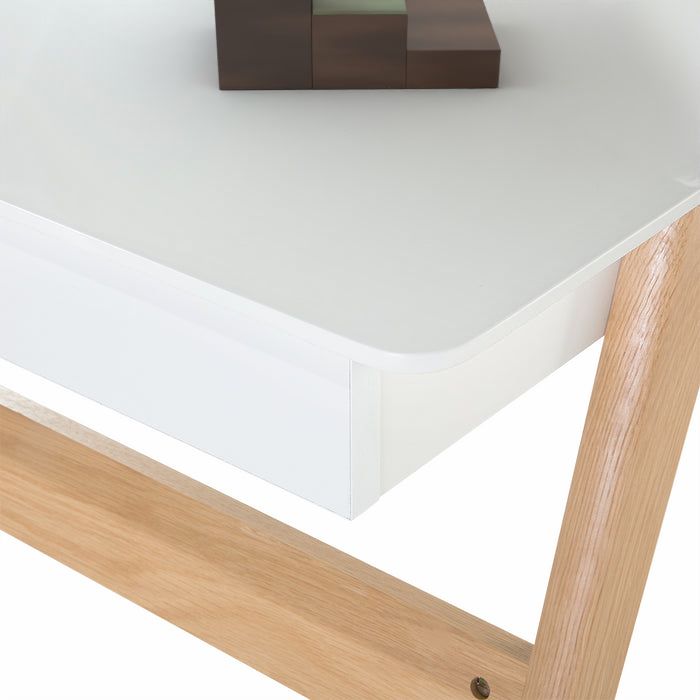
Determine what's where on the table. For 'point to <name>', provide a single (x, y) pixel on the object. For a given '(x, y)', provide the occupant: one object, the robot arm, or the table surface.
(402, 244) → the table surface
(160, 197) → the table surface
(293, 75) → the stepped wooden block
